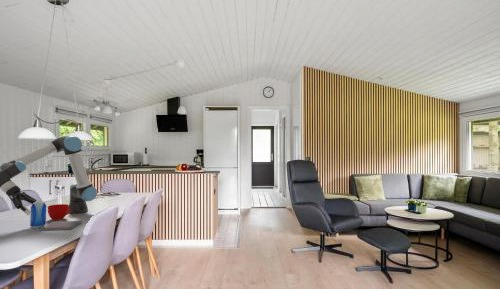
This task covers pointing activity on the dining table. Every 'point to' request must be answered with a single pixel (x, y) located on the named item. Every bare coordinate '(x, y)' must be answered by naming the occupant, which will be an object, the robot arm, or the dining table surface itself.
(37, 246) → the dining table surface
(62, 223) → the slate tile
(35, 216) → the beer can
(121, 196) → the dining table surface
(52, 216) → the ceramic cup
